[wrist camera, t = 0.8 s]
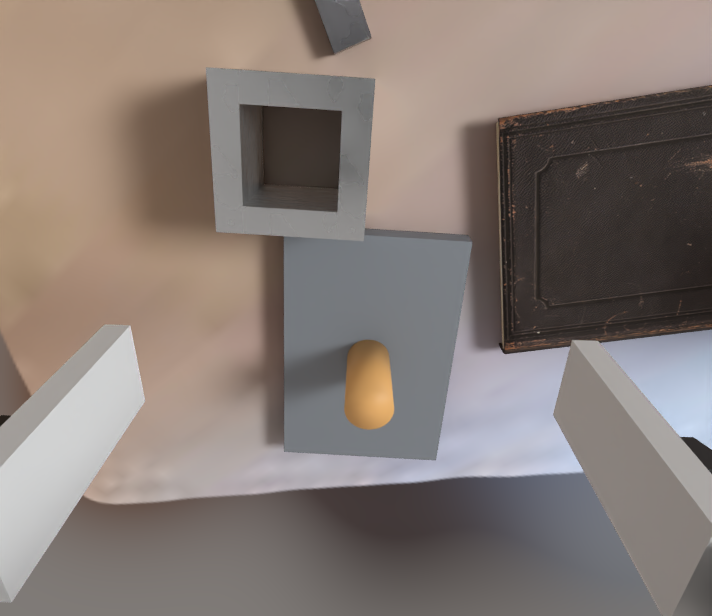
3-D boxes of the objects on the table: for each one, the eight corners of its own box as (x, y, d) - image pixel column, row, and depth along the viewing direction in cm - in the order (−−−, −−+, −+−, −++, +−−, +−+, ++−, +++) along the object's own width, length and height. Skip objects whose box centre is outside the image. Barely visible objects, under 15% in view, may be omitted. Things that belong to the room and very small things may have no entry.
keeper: (287, 223, 32) (266, 262, 26) (467, 235, 33) (495, 276, 26) (286, 439, 40) (271, 512, 33) (433, 447, 40) (447, 522, 33)
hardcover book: (490, 116, 30) (499, 118, 28) (892, 53, 28) (934, 51, 26) (497, 342, 37) (505, 358, 35) (823, 303, 35) (852, 317, 33)
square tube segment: (235, 69, 29) (205, 67, 23) (372, 78, 29) (375, 78, 23) (241, 205, 32) (216, 232, 27) (363, 213, 32) (363, 241, 27)
